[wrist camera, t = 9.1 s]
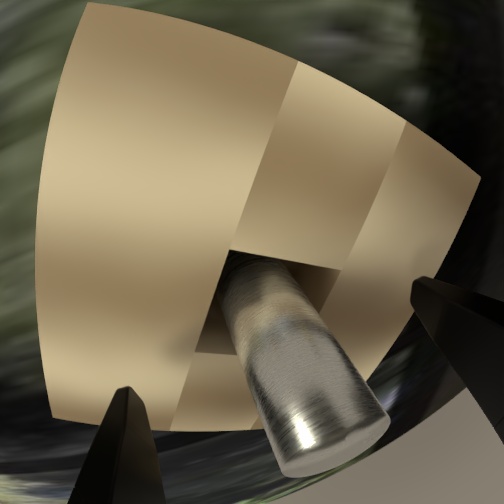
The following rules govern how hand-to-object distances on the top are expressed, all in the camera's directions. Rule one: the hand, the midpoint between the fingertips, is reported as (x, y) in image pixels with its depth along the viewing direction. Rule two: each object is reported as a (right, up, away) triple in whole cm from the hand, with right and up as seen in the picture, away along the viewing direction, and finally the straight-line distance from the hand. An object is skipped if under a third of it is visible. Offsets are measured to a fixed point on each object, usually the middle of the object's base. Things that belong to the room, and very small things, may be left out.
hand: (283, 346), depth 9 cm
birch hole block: (-2, +3, +5) cm, 6 cm away
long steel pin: (-2, +3, +5) cm, 6 cm away
